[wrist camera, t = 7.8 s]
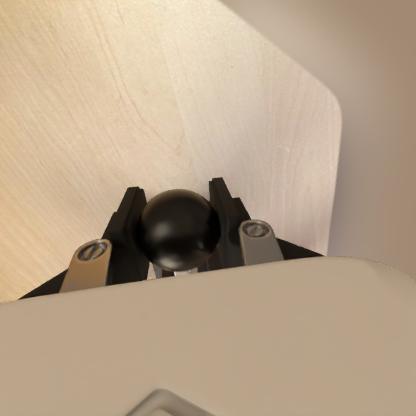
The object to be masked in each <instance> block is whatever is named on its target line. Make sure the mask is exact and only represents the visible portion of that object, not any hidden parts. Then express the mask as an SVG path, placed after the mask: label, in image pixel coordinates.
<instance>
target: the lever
mask: <svg viewBox="0 0 416 416" xmlns="http://www.w3.org/2000/svg"><path fill="white" fill-rule="evenodd" d="M219 236H220V226H219V220H218V216H217V213H216V211H215V209H214V208H213V206H212V205H211V204H210V203H209V202H208V200H206V199H205V198H204V197H203V196H201V195H199V194H198V193H195V192H193V191H190V190H185V189H173V190H168V191H165V192H162V193H160V194H158V195H157V196H155V197H154V198H152V199H151V200H150V201H149V202H148V203H147V204H146V206H145V207H144V208H143V210H142V212H141V214H140V216H139V219H138V223H137V239H138V243H139V246H140V249H141V251H142V252H143V254H144V255H145V257H146V258H147V259H148V260H149V261H150V262H151V263H152V264H154V265H155V266H157V267H159V268H161V269H163V270H166V271H171V272H174V274H175V276H180V275H186V274H193V273H198V271H197V267H199V266H200V265H202V264H203V263H204V262H206V261H207V260H208V259H209V258H210V256H211V255H212V254H213V252H214V251H215V249H216V247H217V244H218V241H219Z"/></svg>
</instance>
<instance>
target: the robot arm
mask: <svg viewBox="0 0 416 416" xmlns="http://www.w3.org/2000/svg"><path fill="white" fill-rule="evenodd" d="M209 192H210V204H211V205H212V206H213V208H214V209H215V211H216V213H217V216H218V220H219V226H220V236H219V241H218V244H217V248H218V252H219V256H220V260H221V264H222V268H223V269H221V270H214V271H207V272H200V273H193V274H186V275H180V276H173V277H166V278H159V279H152V280H147V276H148V269H149V262H150V261H149V260H148V259H147V258H146V257H145V255H144V254H143V252H142V251H141V249H140V246H139V243H138V239H137V223H138V219H139V216H140V214H141V212H142V210H143V208H144V207H145V206H146V204H147V201H146V197H145V193H144V190H143V189H140V188H139V187H129V188H127V191H126V193H125V195H124V197H123V199H122V202H121V204H120V206H119V208H118V210H117V212H114V213H113V215H112V217H111V219H110V221H109V223H108V226H107V228H106V230H105V232H104V234H103V236H102V238H101V239H96V240H93V241H90V242H87V243H85V244H84V245H82V246H81V247H79V248H78V249H77V250H76V251H75V253H74V255H73V257H72V260H71V263H70V265H69V268H68V269H67V270H65V271H63V272H62V273H60V274H59V275H57V276H55V277H54V278H52V279H50V280H49V281H47V282H45V283H44V284H42V285H41V286H39V287H37V288H36V289H34V290H32V291H31V292H29V293H28V294H26V295H24V296H23V297H21V298H20V299H18V300H15V301H9V302H4V303H0V416H416V281H415V280H413V279H412V278H410V277H408V276H407V275H406V274H404V273H402V272H401V271H399V270H397V269H395V268H393V267H391V266H388V265H386V264H383V263H380V262H376V261H372V260H368V259H361V258H354V257H341V256H323V255H321V254H319V253H316V252H314V251H311V250H308V249H305V248H303V247H300V246H297V245H295V244H292V243H289V242H287V241H284V240H281V239H278V238H276V237H275V234H274V232H273V229H272V227H271V226H270V225H269V224H268V223H266V222H264V221H261V220H251V218H250V216H249V214H248V212H247V210H246V209H245V207H244V205H243V203H242V201H241V199H240V198H239V197H238V198H232V197H231V195H230V193H229V190H228V188H227V186H226V184H225V182H224V180H223V178H222V177H220V178H212V181H209ZM224 268H226V269H224ZM143 280H145V281H143Z"/></svg>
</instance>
